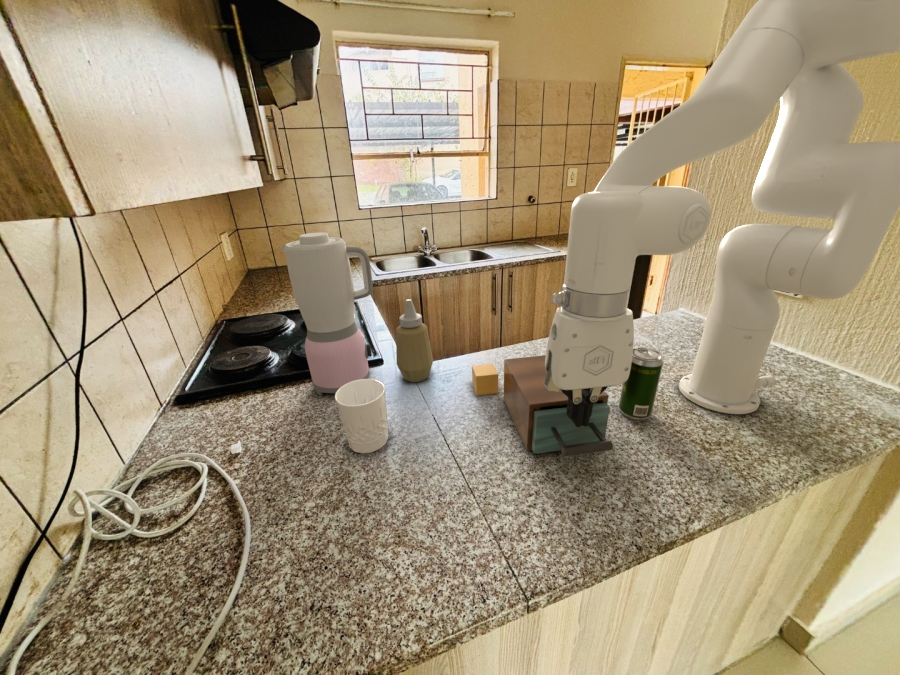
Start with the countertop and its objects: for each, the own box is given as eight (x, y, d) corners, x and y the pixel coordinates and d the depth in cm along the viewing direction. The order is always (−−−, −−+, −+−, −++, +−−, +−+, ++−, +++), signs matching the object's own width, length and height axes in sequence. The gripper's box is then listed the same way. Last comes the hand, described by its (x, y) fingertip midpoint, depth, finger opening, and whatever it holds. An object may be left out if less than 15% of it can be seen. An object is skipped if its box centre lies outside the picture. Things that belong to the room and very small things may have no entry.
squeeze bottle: (429, 386, 77) (422, 307, 69) (393, 384, 78) (382, 306, 71) (437, 368, 84) (432, 294, 76) (404, 365, 85) (396, 293, 78)
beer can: (657, 420, 63) (671, 360, 58) (626, 422, 63) (638, 362, 58) (641, 402, 68) (653, 345, 63) (613, 404, 68) (623, 347, 63)
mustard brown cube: (492, 381, 77) (493, 363, 75) (498, 393, 73) (498, 374, 71) (472, 383, 77) (471, 365, 75) (476, 395, 73) (475, 376, 71)
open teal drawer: (623, 471, 52) (631, 430, 49) (547, 481, 51) (550, 441, 48) (568, 397, 69) (571, 364, 66) (510, 403, 68) (511, 370, 65)
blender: (310, 402, 73) (270, 243, 60) (315, 373, 84) (282, 232, 71) (388, 389, 76) (366, 235, 63) (383, 363, 87) (364, 226, 74)
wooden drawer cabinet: (601, 441, 59) (608, 395, 55) (526, 451, 58) (529, 404, 54) (564, 392, 72) (568, 352, 68) (503, 399, 71) (504, 359, 67)
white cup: (399, 429, 64) (393, 382, 60) (377, 460, 57) (368, 409, 53) (361, 422, 67) (352, 375, 62) (336, 451, 60) (324, 401, 56)
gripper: (546, 315, 40) (536, 444, 48) (671, 305, 42) (642, 431, 49) (525, 295, 47) (519, 410, 55) (633, 286, 48) (612, 400, 56)
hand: (577, 420), depth 52 cm, fingers closed
